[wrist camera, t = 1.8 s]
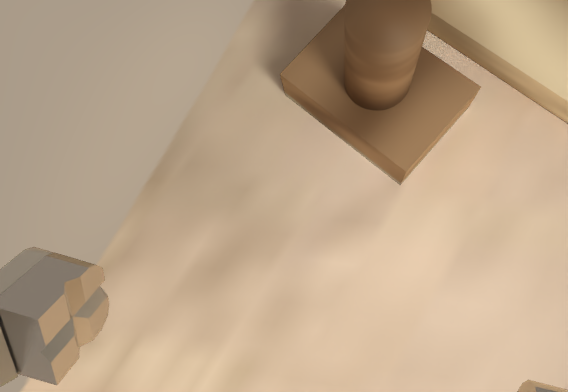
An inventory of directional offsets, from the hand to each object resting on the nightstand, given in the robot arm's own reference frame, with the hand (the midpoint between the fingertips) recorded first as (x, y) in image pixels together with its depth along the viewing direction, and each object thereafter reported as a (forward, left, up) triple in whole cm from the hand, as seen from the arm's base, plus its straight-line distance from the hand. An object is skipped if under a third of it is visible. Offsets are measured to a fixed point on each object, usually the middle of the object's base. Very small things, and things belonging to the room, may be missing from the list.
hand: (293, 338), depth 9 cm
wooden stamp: (-1, -12, -14) cm, 18 cm away
